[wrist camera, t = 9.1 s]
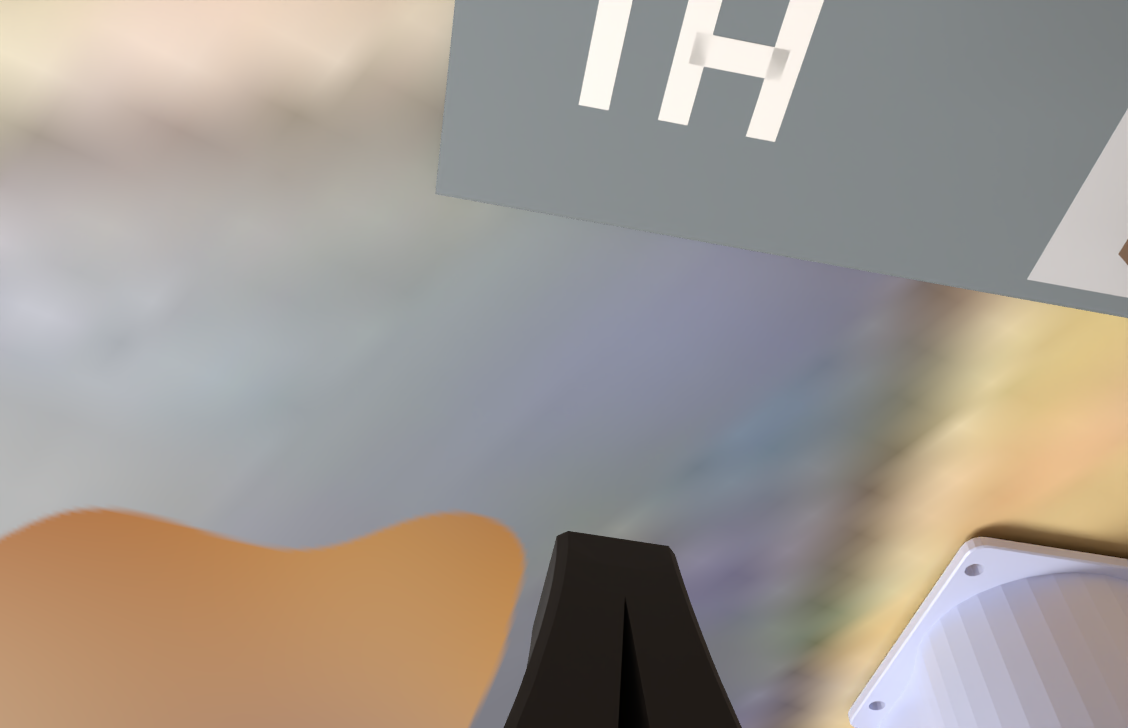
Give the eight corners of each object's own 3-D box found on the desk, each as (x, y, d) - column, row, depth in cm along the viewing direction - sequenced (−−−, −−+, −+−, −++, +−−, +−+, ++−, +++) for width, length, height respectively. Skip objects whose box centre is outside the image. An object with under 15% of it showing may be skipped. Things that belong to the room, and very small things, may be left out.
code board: (1335, 348, 21) (1344, 357, 21) (437, 187, 19) (435, 194, 19) (1649, -3, 16) (1665, 2, 16) (483, -260, 14) (481, -258, 14)
